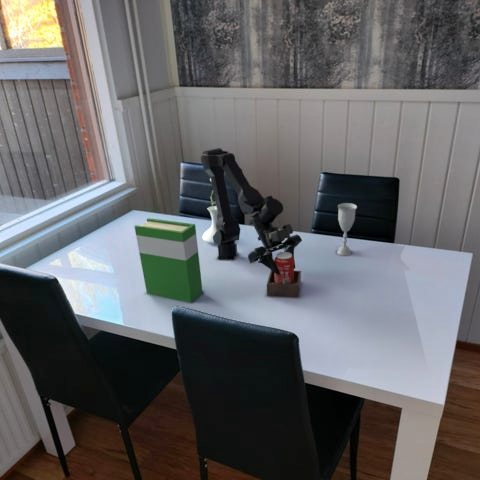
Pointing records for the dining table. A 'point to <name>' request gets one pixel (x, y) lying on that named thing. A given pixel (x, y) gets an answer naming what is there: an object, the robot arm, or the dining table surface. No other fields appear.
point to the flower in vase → (212, 230)
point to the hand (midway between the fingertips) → (286, 271)
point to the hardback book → (170, 259)
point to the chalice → (346, 223)
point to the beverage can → (284, 268)
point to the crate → (284, 286)
